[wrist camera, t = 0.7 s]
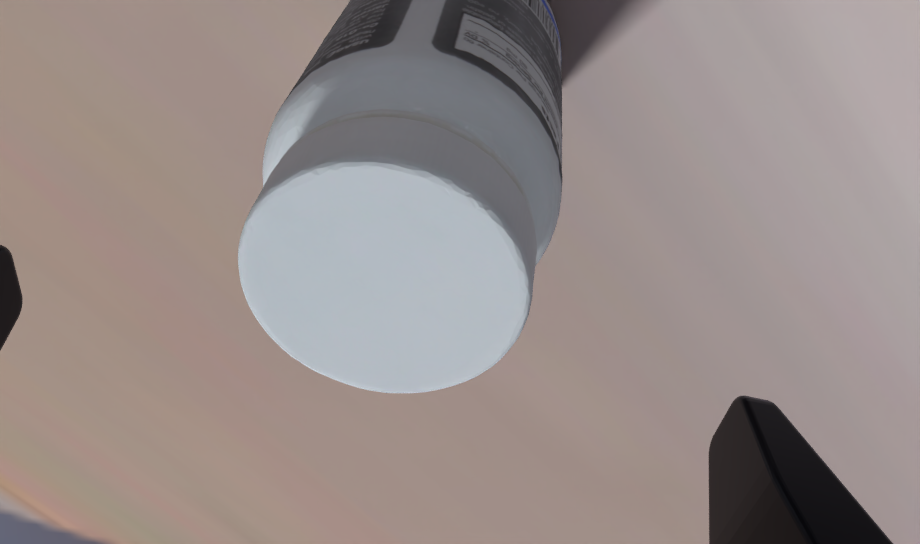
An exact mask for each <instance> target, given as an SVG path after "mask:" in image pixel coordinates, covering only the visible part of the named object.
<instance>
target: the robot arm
mask: <svg viewBox="0 0 920 544" xmlns="http://www.w3.org/2000/svg"><path fill="white" fill-rule="evenodd" d="M21 308H22V293H21V289H20V285H19V281H18V277H17V274H16V270H15V266H14V262H13V258H12V255H11V252H10V251H9V250H8V249H7V248H6V247H4V246H2V245H0V350H1V348H2V347H3V345H4V343H5V341H6V339H7V337H8V335H9V334H10V332H11V330H12V328H13V326H14V324H15V323H16V321H17V319H18V317H19V315H20V312H21ZM709 544H893V543H892V542H891V541H890V539H889V538H888V537H887V536H886V535H885V534H884V532H883V531H882V530H881V529H880V528H879V526H878V525H877V524H876V523H875V522H874V521H873V519H872V518H871V517H870V516H869V515H868V513H867V512H866V511H865V510H864V509H863V507H862V506H861V505H860V504H859V503H858V502H857V500H856V499H855V498H854V497H853V496H852V494H851V493H850V492H849V491H848V490H847V489H846V487H845V486H844V485H843V484H842V483H841V481H840V480H839V479H838V478H837V477H836V475H835V474H834V473H833V472H832V471H831V470H830V468H829V467H828V466H827V465H826V464H825V462H824V461H823V460H822V459H821V458H820V457H819V455H818V454H817V453H816V452H815V451H814V449H813V448H812V447H811V446H810V445H809V443H808V442H807V441H806V440H805V439H804V438H803V436H802V435H801V434H800V433H799V432H798V430H797V429H796V428H795V427H794V426H793V424H792V423H791V422H790V421H789V420H788V419H787V417H786V416H785V415H784V414H783V413H782V411H781V410H780V409H779V408H778V407H777V406H776V405H775V404H774V403H772V402H770V401H768V400H763V399H758V398H753V397H749V396H739V397H737V398H736V399H735V400H734V401H733V403H732V404H731V406H730V408H729V409H728V411H727V413H726V415H725V416H724V418H723V420H722V422H721V423H720V425H719V427H718V429H717V430H716V432H715V434H714V436H713V438H712V441H711V444H710V449H709Z"/></svg>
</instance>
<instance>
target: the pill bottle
mask: <svg viewBox="0 0 920 544" xmlns="http://www.w3.org/2000/svg"><path fill="white" fill-rule="evenodd" d="M561 65H562V57H561V43H560V36H559V31H558V27H557V23H556V20H555V17H554V14H553V12H552V9H551V7H550V5H549V4H548V2H547V0H350V2H349V3H348V5H347V6H346V8H345V9H344V11H343V12H342V14H341V16H340V17H339V18H338V20H337V21H336V23H335V24H334V26H333V27H332V29H331V30H330V32H329V33H328V35H327V36H326V37H325V39H324V40H323V43H322V44H321V46H320V47H319V49H318V50H317V52H316V54H315V55H314V57H313V58H312V60H311V61H310V63H309V64H308V66H307V67H306V69H305V71H304V73H303V74H302V76H301V77H300V79H299V80H298V82H297V83H296V85H295V86H294V88H293V89H292V91H291V92H290V94H289V95H288V97H287V98H286V100H285V101H284V103H283V105H282V106H281V108H280V109H279V111H278V113H277V114H276V117H275V119H274V121H273V123H272V126H271V129H270V132H269V135H268V138H267V142H266V146H265V152H264V159H263V189H262V191H261V193H260V194H259V196H258V198H257V200H256V201H255V203H254V205H253V206H252V208H251V210H250V212H249V215H248V217H247V219H246V222H245V224H244V228H243V231H242V234H241V237H240V243H239V249H238V266H239V274H240V280H241V285H242V289H243V292H244V294H245V297H246V300H247V303H248V305H249V307H250V308H251V310H252V312H253V314H254V315H255V317H256V319H257V320H258V322H259V323H260V324H261V326H262V327H263V329H264V330H265V331H266V332H267V333H268V335H269V336H270V337H271V338H272V339H273V340H274V341H275V342H276V343H277V344H278V345H279V346H280V347H281V348H282V349H283V350H284V351H286V352H287V353H288V354H289V355H290V356H291V357H293V358H295V359H296V360H298V361H299V362H301V363H302V364H304V365H305V366H307V367H309V368H310V369H312V370H314V371H315V372H318V373H320V374H322V375H325V376H327V377H330V378H332V379H334V380H337V381H339V382H342V383H345V384H348V385H351V386H354V387H358V388H362V389H366V390H370V391H378V392H384V393H420V392H429V391H434V390H439V389H443V388H447V387H450V386H454V385H457V384H460V383H463V382H465V381H468V380H470V379H472V378H474V377H476V376H478V375H480V374H481V373H483V372H484V371H486V370H487V369H489V368H491V367H492V366H494V365H495V364H496V363H497V362H498V361H499V360H500V359H501V358H502V357H503V356H504V355H505V354H506V353H507V352H508V351H509V349H510V348H511V347H512V345H513V344H514V343H515V341H516V340H517V339H518V337H519V335H520V333H521V331H522V329H523V327H524V325H525V323H526V320H527V318H528V315H529V310H530V305H531V301H532V292H533V281H534V271H535V266H536V264H537V263H538V262H539V260H540V259H541V257H542V256H543V254H544V252H545V250H546V248H547V247H548V245H549V243H550V241H551V238H552V235H553V232H554V230H555V227H556V224H557V220H558V216H559V211H560V203H561V192H562V86H561V84H562V78H561Z"/></svg>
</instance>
